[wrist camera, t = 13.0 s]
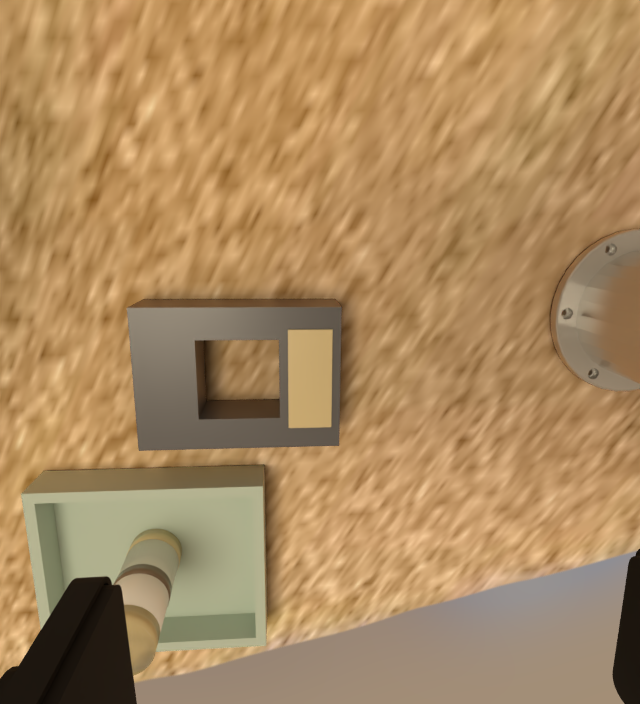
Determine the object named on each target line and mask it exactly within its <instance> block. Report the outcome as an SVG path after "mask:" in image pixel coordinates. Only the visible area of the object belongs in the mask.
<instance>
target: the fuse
mask: <svg viewBox="0 0 640 704" xmlns="http://www.w3.org/2000/svg"><path fill="white" fill-rule="evenodd" d="M181 556H182V546H181V543H180V541H179V540H178V538H177V537H176V536H175V535H174V534H172V533H171V532H169V531H167V530H164V529H149V530H146V531H143V532H142V533H140V534H139V535H137V536H136V537H135V539H134V540H133V542H132V544H131V546H130V548H129V551H128V553H127V555H126V558H125V561H124V563H123V565H122V567H121V570H120V572H119V574H118V576H117V578H116V580H115V582H114V584H113V585H120V586H121V589H122V594H123V602H124V610H125V617H126V625H127V633H128V640H129V648H130V656H131V664H132V671H133V676H134V675H136V674H139V673H140V672H142V671H144V670H145V669H146V668H147V667H148V666H149V665H150V664H151V662H152V661H153V659H154V656H155V652H156V649H157V645H158V641H159V637H160V632H161V628H162V625H163V621H164V617H165V614H166V610H167V607H168V604H169V601H170V597H171V593H172V588H173V584H174V581H175V577H176V573H177V570H178V567H179V564H180V560H181Z"/></svg>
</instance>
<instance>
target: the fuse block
mask: <svg viewBox="0 0 640 704" xmlns="http://www.w3.org/2000/svg"><path fill="white" fill-rule="evenodd" d="M341 312H342V307H341V306H340V304H339V303H338V302H337V301H336V299H143V300H141V301H139V302H137V303H135V304H133V305H132V306H130V307H128V308H127V314H128V326H129V338H130V350H131V362H132V374H133V386H134V398H135V410H136V423H137V435H138V447H139V451H144V450H183V449H223V448H263V447H302V446H339V421H340V367H341ZM204 340H279V380H280V399H264V400H208V401H207V396H206V375H205V354H204Z"/></svg>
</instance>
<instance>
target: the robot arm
mask: <svg viewBox="0 0 640 704" xmlns="http://www.w3.org/2000/svg"><path fill="white" fill-rule="evenodd" d="M605 249H606V251H605ZM562 311H564V312H563V314H562ZM551 334H552V338H553V343H554V346H555V348H556V351H557V353H558V355H559V357H560V359H561V360H562V361H563V363H564V364H565V365H566V367H567V368H568V369H569V370H570V371H571V372H572V373H574V374H575V375H576V376H577V377H578V378H580V379H582V380H584V381H586V382H587V383H589V384H591V385H594V386H596V387H599V388H601V389H605V390H611V391H634V390H638V389H640V229H630V230H625V231H620V232H616V233H614V234H611V235H609V236H606V237H604V238H602V239H600V240H599V241H597V242H596V243H594V244H592V245H591V246H589V247H588V248H587V249H586V250H585V251H584V252H583V253H581V254H580V255H579V256H578V257H577V258H576V259H575V261H574V262H573V263H572V264H571V266H570V267H569V268H568V269H567V271H566V272H565V274H564V276H563V278H562V279H561V281H560V283H559V285H558V288H557V290H556V293H555V296H554V299H553V303H552V310H551ZM613 681H614V685H615V688H616V690H617V692H618V694H619V696H620V698H621V699H622V701H623V702H624V703H625V704H640V549H639V550H638V551H637V552H636V556H634V557H632V558H631V559H630V561H629V565H628V572H627V579H626V585H625V592H624V600H623V606H622V612H621V619H620V626H619V633H618V639H617V646H616V653H615V660H614V667H613ZM0 704H137V703H136V694H135V687H134V679H133V671H132V664H131V656H130V648H129V640H128V633H127V625H126V617H125V610H124V602H123V594H122V589H121V586H120V585H112V582H111V579H110V578H109V577H107V576H103V577H85V578H75V579H73V580H72V581H71V583H70V584H69V586H68V587H67V589H66V590H65V592H64V594H63V595H62V597H61V598H60V600H59V602H58V603H57V605H56V607H55V608H54V610H53V611H52V613H51V615H50V616H49V618H48V620H47V621H46V623H45V624H44V626H43V628H42V629H41V631H40V632H39V634H38V636H37V637H36V639H35V641H34V642H33V644H32V645H31V647H30V649H29V650H28V652H27V654H26V655H25V657H24V658H23V660H22V662H21V663H20V665H19V666H16V667H12V668H10V669H9V670H7V671H6V672H5V673H4V675H3V676H2V677H1V679H0Z"/></svg>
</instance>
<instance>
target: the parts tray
mask: <svg viewBox="0 0 640 704" xmlns="http://www.w3.org/2000/svg"><path fill="white" fill-rule="evenodd" d="M21 497H22V503H23V510H24V517H25V524H26V531H27V538H28V545H29V551H30V558H31V565H32V572H33V579H34V586H35V593H36V599H37V606H38V613H39V620H40V627H41V629H42V628H43V626H44V624H45V623H46V621H47V620H48V618H49V616H50V615H51V613H52V611H53V610H54V608H55V607H56V605H57V603H58V602H59V600H60V598H61V597H62V595H63V594H64V592H65V590H66V589H67V587H68V586H69V584H70V583H71V581H72V580H73V579H75V578H85V577H103V576H107V577H109V578H110V579H111V582H112V585H113V584H114V582H115V580H116V578H117V576H118V574H119V572H120V570H121V567H122V565H123V563H124V561H125V558H126V555H127V553H128V551H129V548H130V546H131V544H132V542H133V540H134V539H135V537H136V536H137V535H139V534H140V533H142V532H143V531H146V530H149V529H164V530H167V531H169V532H171V533H172V534H174V535H175V536H176V537H177V538H178V540H179V541H180V543H181V546H182V556H181V560H180V564H179V567H178V570H177V573H176V577H175V581H174V584H173V588H172V593H171V597H170V601H169V604H168V607H167V610H166V614H165V617H164V621H163V625H162V628H161V632H160V637H159V641H158V645H157V649H156V652H161V651H179V650H197V649H215V648H233V647H251V646H266V636H267V576H266V525H265V474H264V465H238V466H202V467H166V468H130V469H94V470H58V471H43V472H42V473H41V474H40V475H39V476H38V477H37V478H36V479H35V480H34V481H33V482H32V483H31V484H30V485H29V486H28V487H27V488H26V489H25V490H24V491H23V492H22V494H21Z"/></svg>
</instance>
